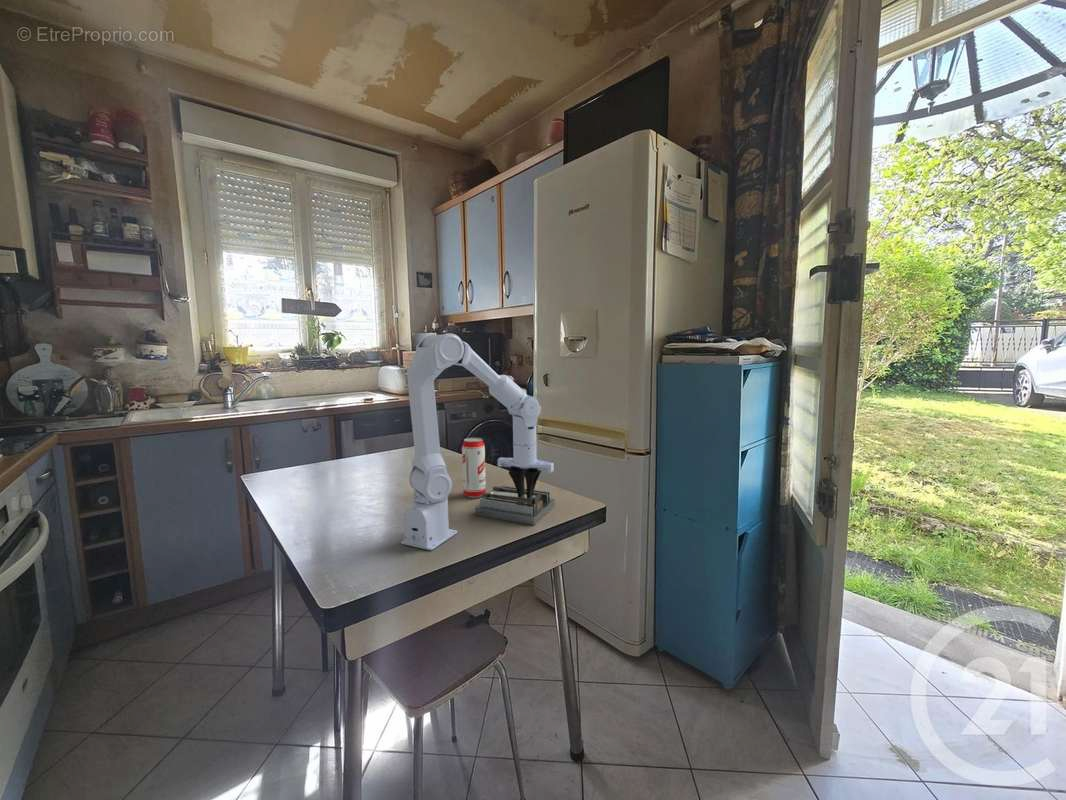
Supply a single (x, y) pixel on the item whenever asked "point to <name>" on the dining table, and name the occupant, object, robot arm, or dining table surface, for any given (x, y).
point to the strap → (510, 496)
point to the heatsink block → (515, 506)
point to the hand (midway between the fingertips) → (525, 496)
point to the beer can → (473, 467)
